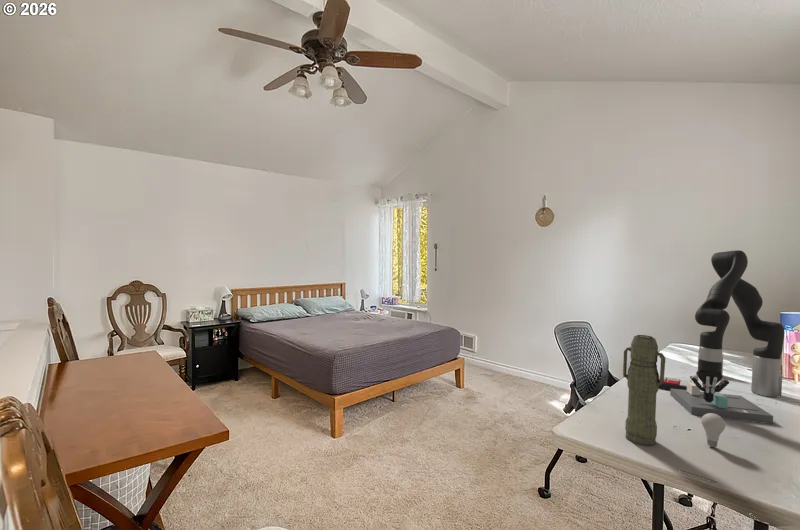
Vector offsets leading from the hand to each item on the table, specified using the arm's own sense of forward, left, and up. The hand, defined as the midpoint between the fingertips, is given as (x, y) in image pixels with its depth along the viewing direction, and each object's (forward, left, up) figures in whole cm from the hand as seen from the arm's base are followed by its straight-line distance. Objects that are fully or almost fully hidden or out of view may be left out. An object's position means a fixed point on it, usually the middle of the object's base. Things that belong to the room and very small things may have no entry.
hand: (708, 401), depth 155 cm
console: (-6, -6, -4) cm, 10 cm away
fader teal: (-4, 0, -1) cm, 4 cm away
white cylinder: (-26, -60, -4) cm, 66 cm away
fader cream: (0, -13, -1) cm, 13 cm away
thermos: (+33, +36, -4) cm, 49 cm away
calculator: (+3, -29, -5) cm, 30 cm away
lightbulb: (+12, +34, -4) cm, 36 cm away
